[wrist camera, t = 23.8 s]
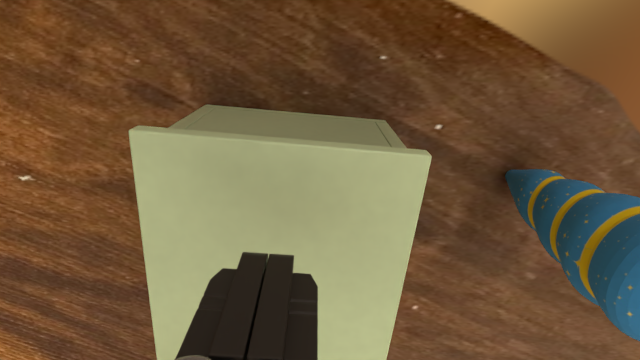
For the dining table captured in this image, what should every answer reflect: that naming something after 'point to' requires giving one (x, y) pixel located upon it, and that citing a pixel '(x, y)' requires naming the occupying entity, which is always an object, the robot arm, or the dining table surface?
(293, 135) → the box
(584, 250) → the ornament
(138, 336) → the dining table surface
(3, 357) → the dining table surface
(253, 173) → the lid
